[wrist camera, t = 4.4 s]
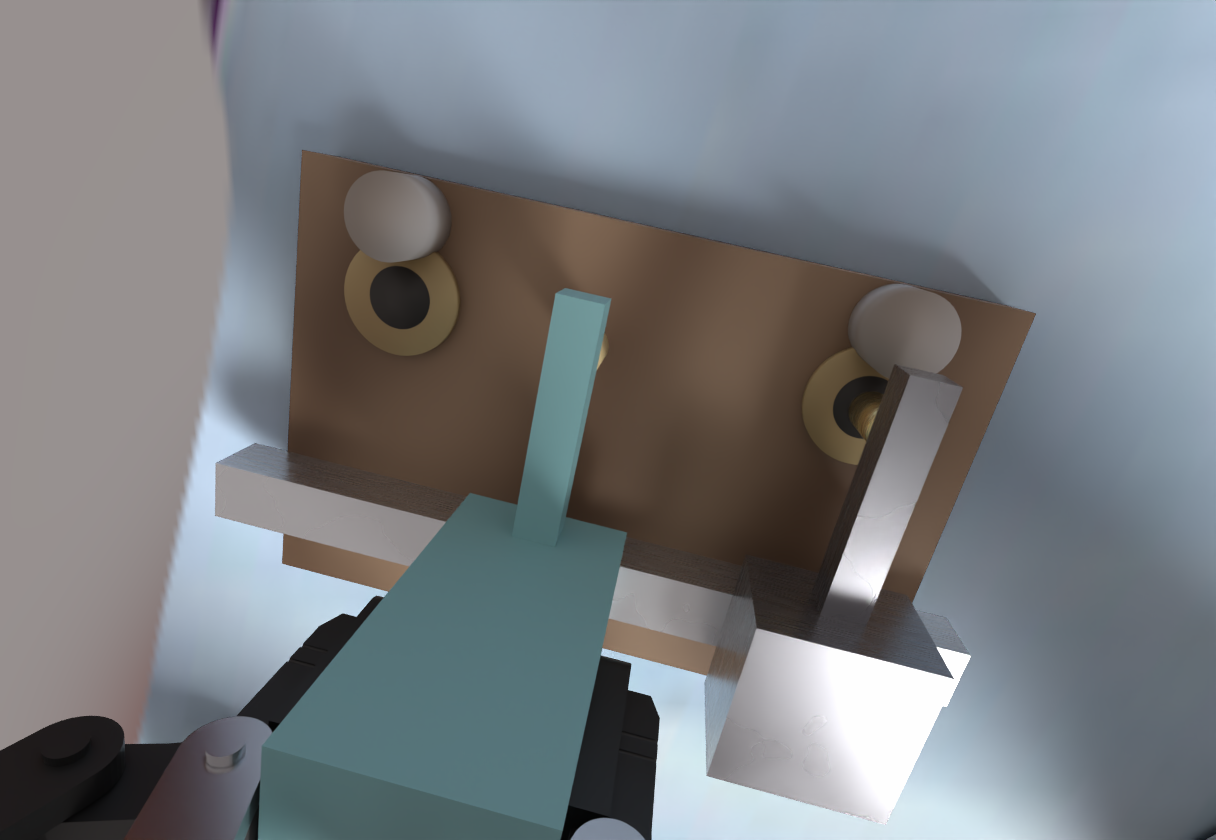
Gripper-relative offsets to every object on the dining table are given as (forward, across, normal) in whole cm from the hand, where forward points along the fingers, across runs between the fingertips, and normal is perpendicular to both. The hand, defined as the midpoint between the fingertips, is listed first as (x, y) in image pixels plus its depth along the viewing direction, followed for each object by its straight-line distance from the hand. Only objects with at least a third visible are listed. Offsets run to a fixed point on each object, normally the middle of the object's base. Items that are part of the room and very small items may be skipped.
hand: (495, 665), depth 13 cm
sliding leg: (+5, 0, -3) cm, 5 cm away
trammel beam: (+5, -1, -3) cm, 6 cm away
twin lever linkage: (+7, -1, -3) cm, 7 cm away
